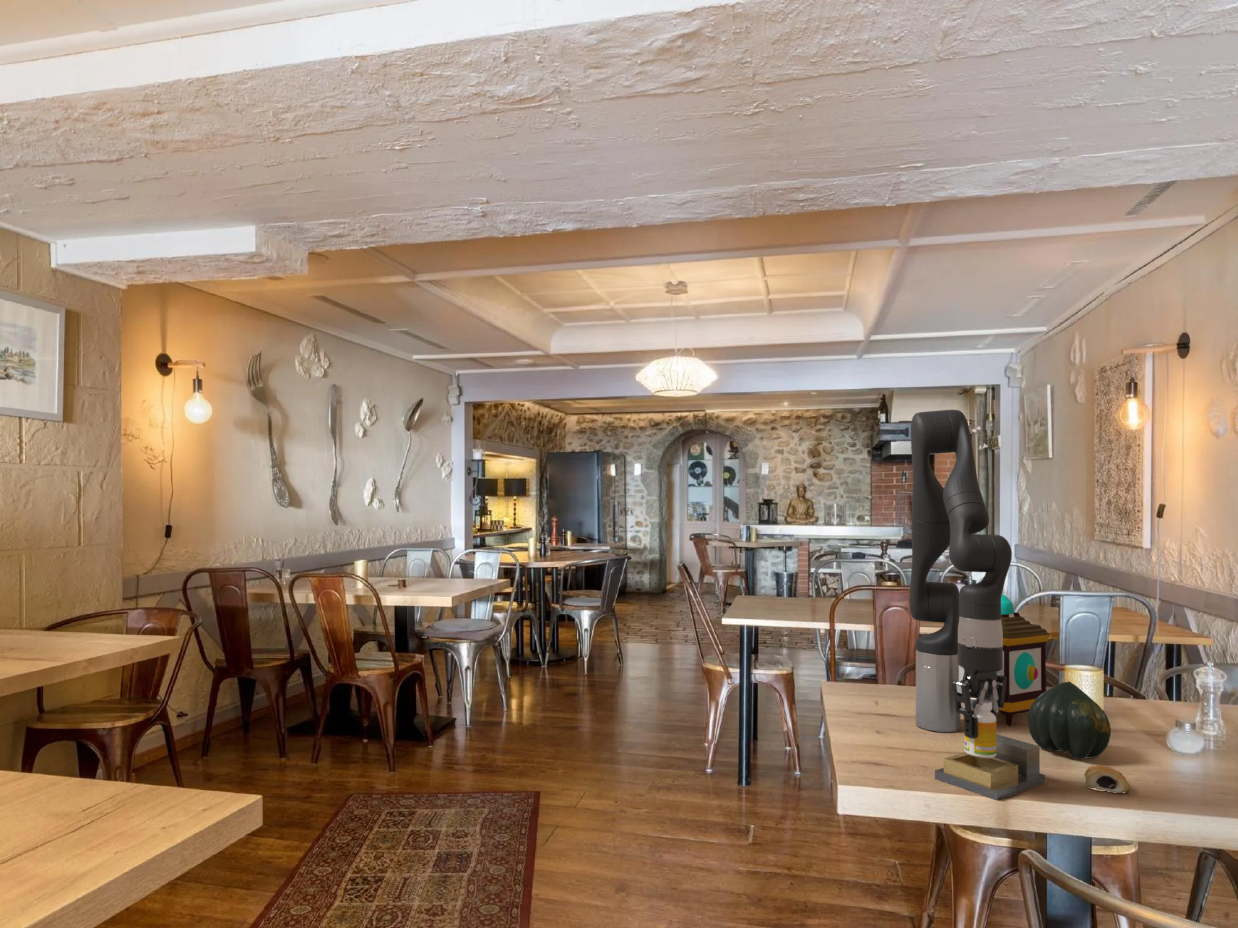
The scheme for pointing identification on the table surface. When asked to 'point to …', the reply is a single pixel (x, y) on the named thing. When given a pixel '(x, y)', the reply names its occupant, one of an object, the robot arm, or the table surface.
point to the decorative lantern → (1020, 662)
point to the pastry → (1106, 779)
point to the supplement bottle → (983, 733)
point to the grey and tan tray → (996, 769)
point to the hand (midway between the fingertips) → (980, 734)
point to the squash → (1069, 722)
